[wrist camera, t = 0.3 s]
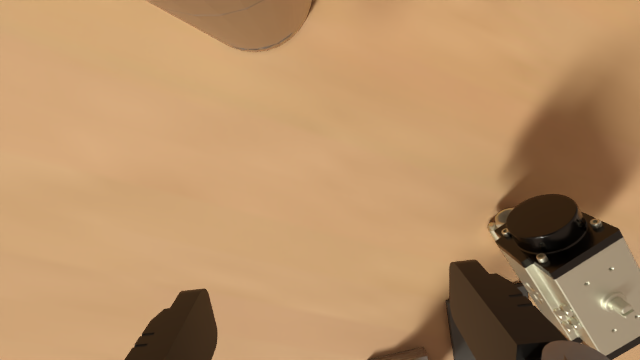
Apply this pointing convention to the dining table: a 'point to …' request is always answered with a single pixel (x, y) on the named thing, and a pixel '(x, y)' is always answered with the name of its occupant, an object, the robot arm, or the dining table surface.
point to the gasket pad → (460, 347)
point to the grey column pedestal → (406, 355)
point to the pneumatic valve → (574, 271)
